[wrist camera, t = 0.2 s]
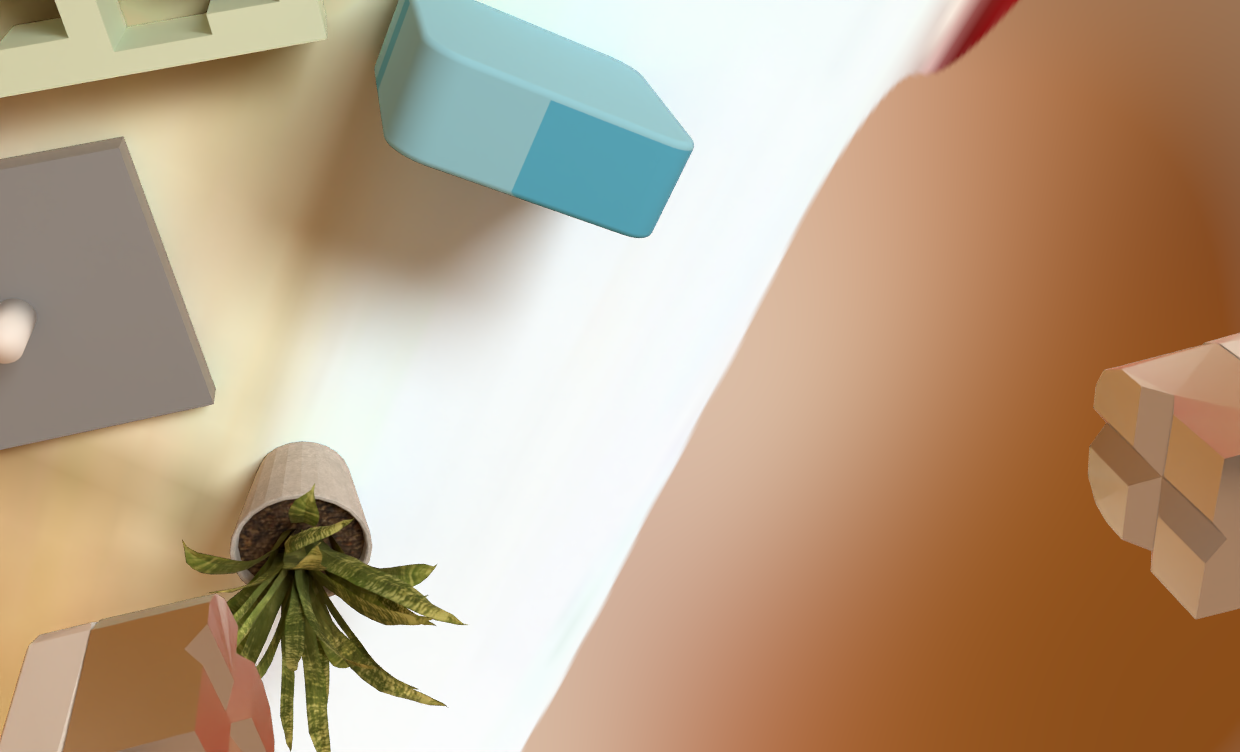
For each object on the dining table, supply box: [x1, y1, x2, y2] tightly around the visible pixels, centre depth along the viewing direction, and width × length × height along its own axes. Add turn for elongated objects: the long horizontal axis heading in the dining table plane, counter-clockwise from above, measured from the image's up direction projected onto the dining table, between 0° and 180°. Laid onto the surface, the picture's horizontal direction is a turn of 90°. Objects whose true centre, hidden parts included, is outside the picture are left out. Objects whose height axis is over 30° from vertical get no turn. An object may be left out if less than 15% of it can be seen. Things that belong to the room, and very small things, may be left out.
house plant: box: [182, 442, 468, 752], centre depth 59 cm, size 14×14×16 cm
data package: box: [374, 0, 694, 238], centre depth 51 cm, size 12×4×12 cm, turn 65°
